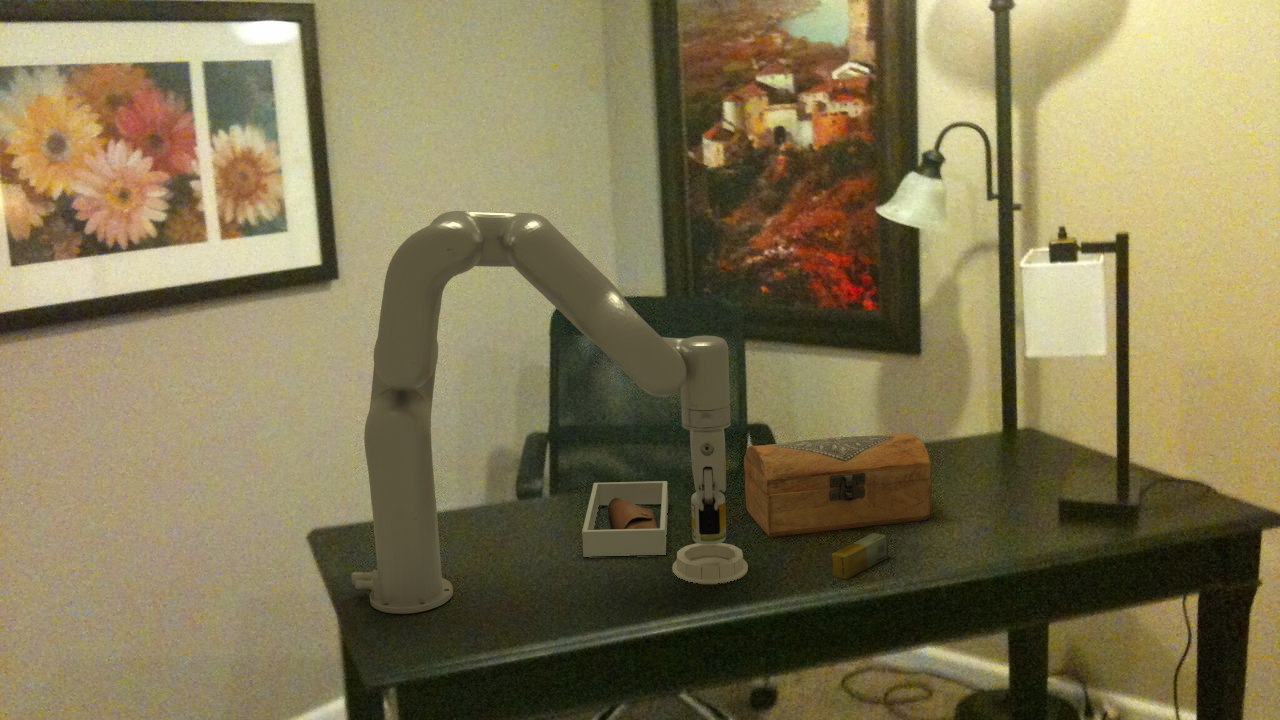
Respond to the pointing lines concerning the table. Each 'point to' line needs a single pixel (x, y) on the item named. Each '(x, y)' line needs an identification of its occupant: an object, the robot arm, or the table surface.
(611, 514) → the sunglasses case
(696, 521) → the supplement bottle
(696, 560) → the coaster tray
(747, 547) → the table surface
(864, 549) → the medication box
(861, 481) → the wooden box
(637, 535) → the frame
